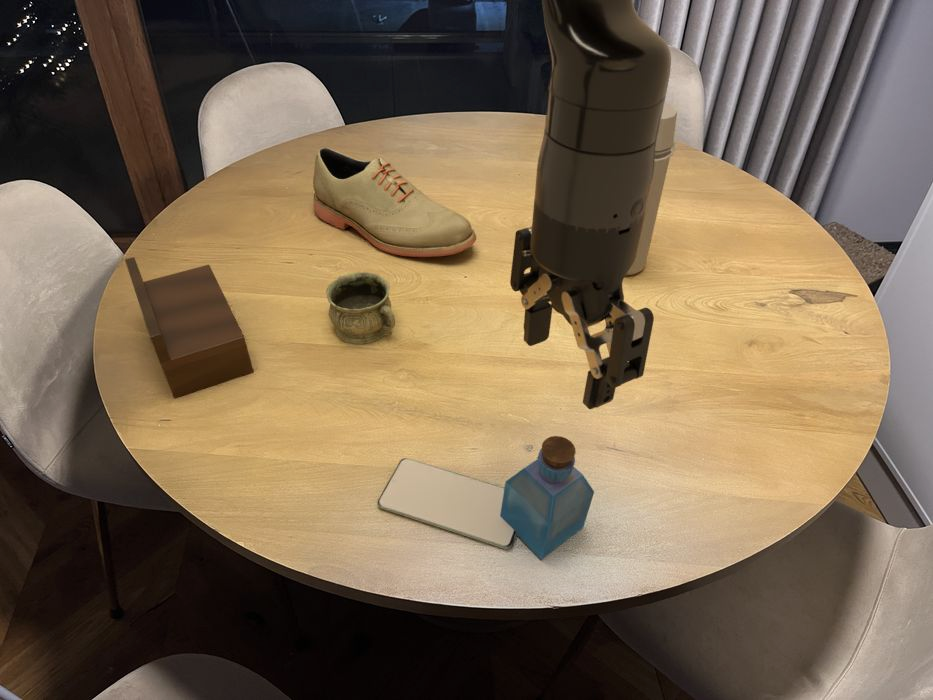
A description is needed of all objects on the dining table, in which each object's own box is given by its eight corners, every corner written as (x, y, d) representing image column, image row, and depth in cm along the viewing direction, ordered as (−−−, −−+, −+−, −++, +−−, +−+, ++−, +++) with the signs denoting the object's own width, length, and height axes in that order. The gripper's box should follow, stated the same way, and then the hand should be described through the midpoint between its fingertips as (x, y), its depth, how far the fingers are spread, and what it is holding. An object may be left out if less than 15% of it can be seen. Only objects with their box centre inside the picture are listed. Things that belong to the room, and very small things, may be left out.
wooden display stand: (253, 372, 87) (237, 311, 81) (174, 398, 84) (150, 337, 77) (218, 298, 99) (202, 239, 92) (147, 318, 95) (124, 259, 89)
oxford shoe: (454, 277, 104) (454, 210, 96) (293, 222, 115) (281, 158, 107) (488, 243, 111) (491, 178, 103) (334, 195, 123) (326, 133, 115)
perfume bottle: (542, 488, 74) (558, 414, 66) (583, 527, 70) (605, 454, 62) (499, 517, 71) (511, 443, 63) (540, 559, 67) (558, 487, 59)
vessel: (415, 325, 95) (413, 288, 91) (375, 360, 89) (372, 323, 85) (350, 296, 100) (345, 260, 96) (308, 327, 94) (301, 291, 90)
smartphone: (510, 548, 68) (375, 504, 71) (510, 551, 68) (375, 507, 72) (530, 495, 73) (402, 456, 76) (529, 498, 73) (402, 459, 77)
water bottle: (597, 249, 110) (623, 96, 94) (646, 254, 109) (681, 101, 93) (595, 282, 103) (623, 123, 87) (648, 287, 102) (685, 128, 86)
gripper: (488, 164, 49) (482, 336, 59) (613, 263, 39) (579, 445, 50) (573, 143, 52) (552, 311, 62) (708, 231, 42) (656, 410, 53)
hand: (564, 371), depth 56 cm, fingers open, 8 cm apart
